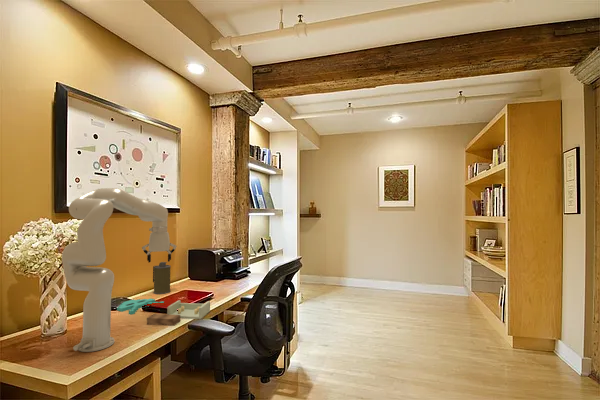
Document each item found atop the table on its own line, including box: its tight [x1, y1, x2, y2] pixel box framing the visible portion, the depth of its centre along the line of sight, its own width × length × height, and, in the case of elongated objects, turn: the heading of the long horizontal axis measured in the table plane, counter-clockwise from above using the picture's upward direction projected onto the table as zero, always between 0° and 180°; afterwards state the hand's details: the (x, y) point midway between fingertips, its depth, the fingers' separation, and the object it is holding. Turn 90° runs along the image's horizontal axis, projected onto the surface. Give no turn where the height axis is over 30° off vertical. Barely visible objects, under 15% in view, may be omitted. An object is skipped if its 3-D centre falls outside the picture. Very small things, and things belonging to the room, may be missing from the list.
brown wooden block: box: [146, 313, 181, 327], centre depth 153 cm, size 14×6×4 cm, turn 84°
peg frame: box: [166, 299, 211, 320], centre depth 165 cm, size 12×18×6 cm, turn 85°
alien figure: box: [116, 298, 165, 316], centre depth 178 cm, size 20×2×20 cm
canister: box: [152, 261, 172, 295], centre depth 210 cm, size 11×10×20 cm
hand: (159, 261), depth 169 cm, fingers open, 9 cm apart
